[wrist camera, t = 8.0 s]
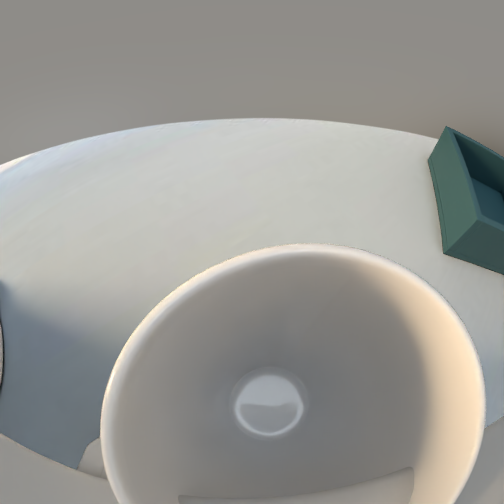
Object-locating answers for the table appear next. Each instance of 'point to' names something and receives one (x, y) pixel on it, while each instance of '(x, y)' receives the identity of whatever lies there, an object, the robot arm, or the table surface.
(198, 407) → the drinking glass
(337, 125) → the table surface
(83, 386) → the table surface
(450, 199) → the bin
